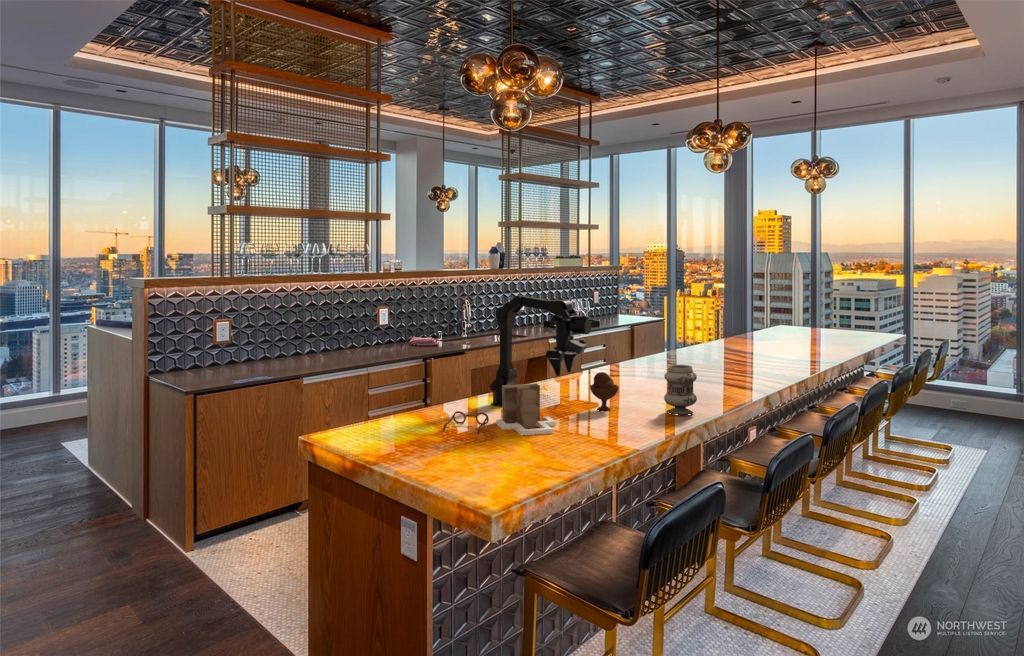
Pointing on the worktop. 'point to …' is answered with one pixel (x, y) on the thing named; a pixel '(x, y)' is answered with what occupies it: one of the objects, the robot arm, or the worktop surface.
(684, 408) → the apothecary jar
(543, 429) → the t outline
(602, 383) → the ice cream bowl
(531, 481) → the worktop surface
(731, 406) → the worktop surface
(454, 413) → the glasses
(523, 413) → the t block
